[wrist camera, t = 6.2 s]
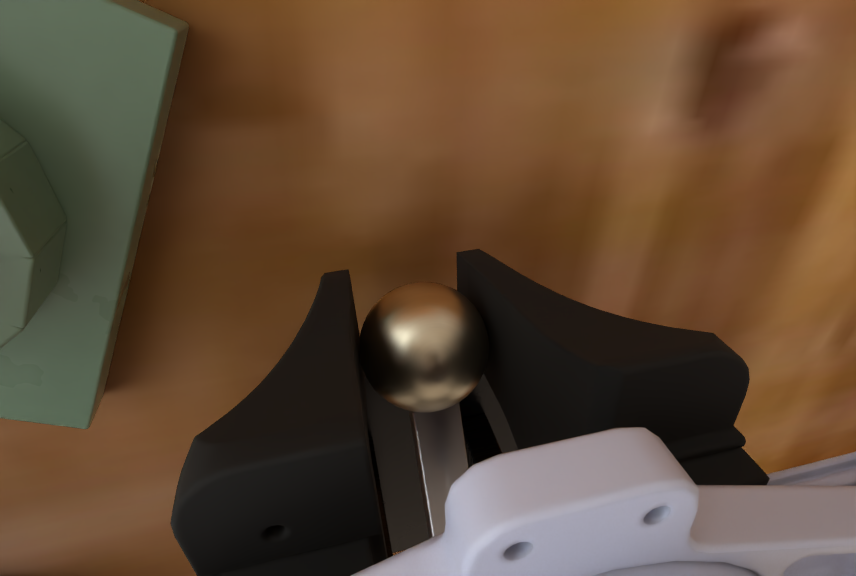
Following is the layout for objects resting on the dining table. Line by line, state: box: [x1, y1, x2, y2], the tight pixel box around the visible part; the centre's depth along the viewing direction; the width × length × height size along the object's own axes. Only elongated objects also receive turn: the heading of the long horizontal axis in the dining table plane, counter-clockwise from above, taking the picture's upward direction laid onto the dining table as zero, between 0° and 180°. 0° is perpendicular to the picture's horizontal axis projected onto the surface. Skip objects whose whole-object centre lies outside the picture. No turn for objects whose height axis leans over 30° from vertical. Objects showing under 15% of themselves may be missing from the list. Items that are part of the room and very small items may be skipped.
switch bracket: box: [365, 373, 518, 558], centre depth 16 cm, size 10×8×10 cm
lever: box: [359, 282, 489, 539], centre depth 12 cm, size 12×3×3 cm, turn 1°
